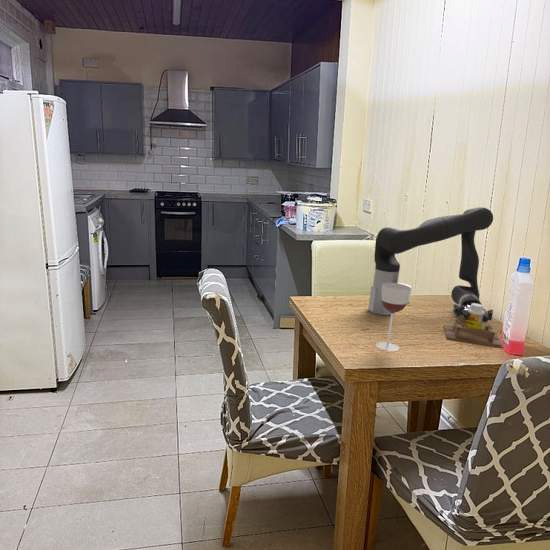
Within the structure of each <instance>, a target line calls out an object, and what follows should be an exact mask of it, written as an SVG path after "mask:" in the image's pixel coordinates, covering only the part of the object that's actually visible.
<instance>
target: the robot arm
mask: <svg viewBox="0 0 550 550" xmlns="http://www.w3.org/2000/svg"><path fill="white" fill-rule="evenodd" d="M493 221H494V214H493V213H492V211H491V210H490V209H489V208H487V207H484V206H483V207H474V208H469V209H466V210H465V211H463V213H461V214H455V215H454V214H453V215H445V216H439V217H434V218H431V219H427V220H426V221H424V222H422V223H421V224H420V225H418V226H417V227H413V228H411V229H396V228H392V227H389V226H388V227H387V226H386V227H383V228H381V229H380V230H379V232H378V233H377V235H376V238H375V244H374V245H375V246H374V264H375V269H374V275H373V283H372V286H371V287H370V294H369V301H368V308H367V309H368V311H369V312H370V313H371V314H373V315H374V314H375V315H379V316H391V312H389V311H388V310H387V309H386V308H384V306H383V304H382V284H383V283H399V276H400V269H401V264H400V262H399V261H398V260H397V259H396V256H395V255H398V254H402V253H405V252H407V251H409V250H411V249H412V250H413V249H415V248H417V247H421V246H425V245H429V244H432V243H437V242H442V241H445V240H448V239H451V238H453V237H456V236H459V235H460V236H461V237H460V238H461V253H460V254H461V255H460V257H461V258H460V264H459V271H458V278H459V280H462V281H465V282H467V283H468V284H469V285H470V286H467V285H461V284H460V285H455V286H454V287H453V288H452V290H451V294H450V295H451V299H452V301H453V303H455V304H453V305H452V307H453V308H452V312H453V313H454V314H455V315H456V316H458V317H460V316H461V317H462V318H463V319H464V320H465V321H466V320H467V319H468V312H467V311H468V309H469V308H471V304H472V303H477V304H481V305H483V304H482V302H481V301H480V291H479V287H478V286H479V285H478V274H479V273H478V272H479V266H480V264H479V263H480V257H479V254H478V251H477V248H476V244H475V237H476V236H475V235H476V232H477V231H483V230H486V229H488V228H489V227H490V226H492V224H493ZM483 311H484V319H483V323H487V322H489V321H492V319H493V314H494V310H493V309H488V310H486V309H485V308H483Z"/></svg>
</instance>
